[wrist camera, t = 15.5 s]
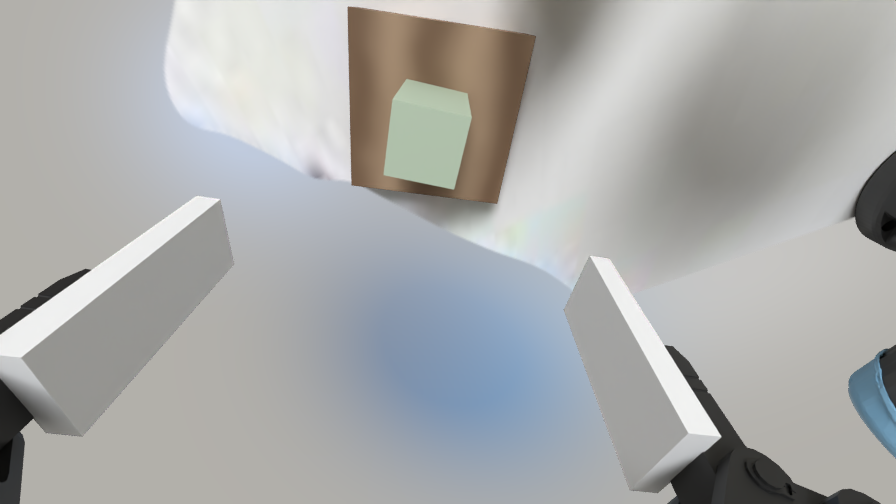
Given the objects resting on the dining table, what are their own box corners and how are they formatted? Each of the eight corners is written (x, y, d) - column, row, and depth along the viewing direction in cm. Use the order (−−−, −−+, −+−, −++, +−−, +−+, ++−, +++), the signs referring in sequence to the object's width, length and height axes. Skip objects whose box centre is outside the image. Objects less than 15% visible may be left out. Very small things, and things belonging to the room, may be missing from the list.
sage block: (467, 93, 29) (471, 117, 22) (453, 152, 32) (454, 189, 25) (406, 78, 28) (392, 99, 22) (398, 140, 31) (383, 175, 24)
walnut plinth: (526, 33, 30) (535, 36, 26) (493, 186, 38) (497, 203, 34) (359, 7, 29) (347, 6, 26) (360, 169, 37) (351, 185, 33)
